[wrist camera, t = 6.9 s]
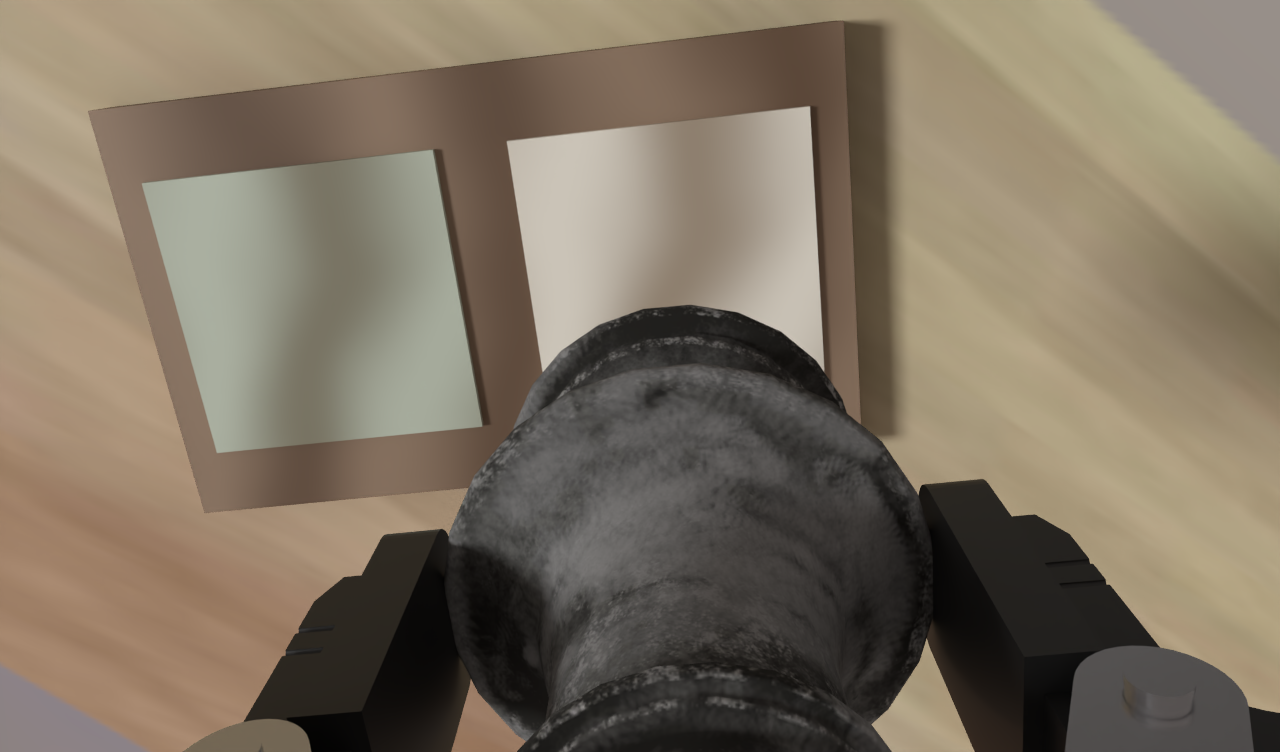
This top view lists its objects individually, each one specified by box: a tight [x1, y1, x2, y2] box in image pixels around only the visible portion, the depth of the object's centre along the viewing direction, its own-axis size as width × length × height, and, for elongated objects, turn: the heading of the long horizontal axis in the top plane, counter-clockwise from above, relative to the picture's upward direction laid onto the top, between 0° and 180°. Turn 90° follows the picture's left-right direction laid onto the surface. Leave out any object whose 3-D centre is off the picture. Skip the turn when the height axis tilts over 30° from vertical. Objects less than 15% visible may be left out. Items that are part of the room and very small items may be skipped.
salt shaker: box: [444, 305, 933, 752], centre depth 10 cm, size 6×6×12 cm
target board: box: [88, 21, 861, 513], centre depth 28 cm, size 20×12×1 cm, turn 96°
